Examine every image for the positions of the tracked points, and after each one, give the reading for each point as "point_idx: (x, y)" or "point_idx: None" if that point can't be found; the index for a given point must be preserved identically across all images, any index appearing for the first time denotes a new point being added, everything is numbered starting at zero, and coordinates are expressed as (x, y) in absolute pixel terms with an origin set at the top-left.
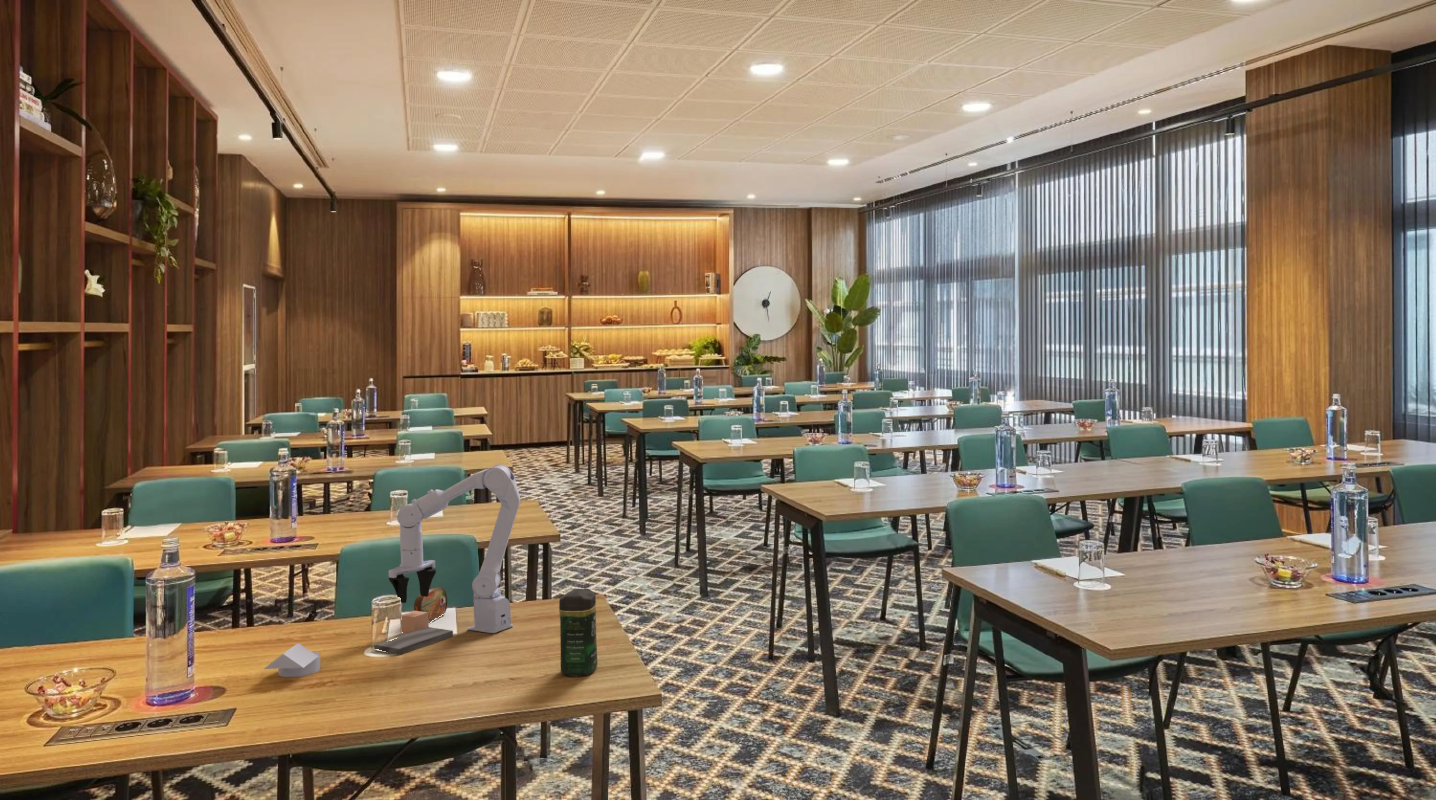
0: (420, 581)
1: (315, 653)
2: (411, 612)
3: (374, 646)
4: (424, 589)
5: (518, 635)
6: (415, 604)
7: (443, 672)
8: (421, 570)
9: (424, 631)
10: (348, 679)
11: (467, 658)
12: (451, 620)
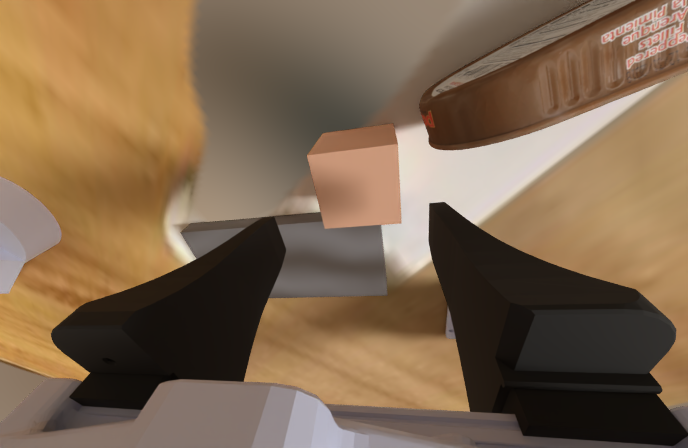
0: (459, 262)
1: (11, 237)
2: (365, 160)
3: (184, 229)
4: (439, 257)
5: (457, 366)
6: (438, 109)
7: (249, 378)
8: (497, 387)
9: (338, 244)
10: None
11: (307, 371)
12: (550, 147)
